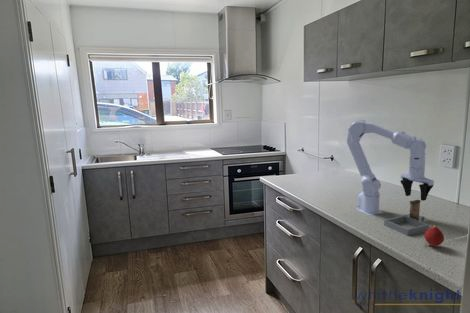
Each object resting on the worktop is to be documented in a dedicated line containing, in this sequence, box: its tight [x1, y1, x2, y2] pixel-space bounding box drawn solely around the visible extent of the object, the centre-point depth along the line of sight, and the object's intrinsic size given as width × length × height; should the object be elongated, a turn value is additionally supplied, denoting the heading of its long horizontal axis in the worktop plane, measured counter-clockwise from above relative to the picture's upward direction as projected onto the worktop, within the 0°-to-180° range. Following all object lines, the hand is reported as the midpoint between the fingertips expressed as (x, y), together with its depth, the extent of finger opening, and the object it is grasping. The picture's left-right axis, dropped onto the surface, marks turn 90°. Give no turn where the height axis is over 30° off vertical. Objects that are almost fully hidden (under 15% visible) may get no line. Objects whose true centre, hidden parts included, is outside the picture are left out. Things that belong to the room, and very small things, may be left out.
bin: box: [383, 215, 430, 237], centre depth 125 cm, size 11×11×3 cm
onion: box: [424, 225, 445, 248], centre depth 110 cm, size 6×6×8 cm
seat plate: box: [397, 213, 431, 223], centre depth 135 cm, size 9×9×2 cm
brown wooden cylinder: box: [409, 199, 422, 220], centre depth 134 cm, size 4×5×8 cm
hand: (415, 197), depth 133 cm, fingers open, 7 cm apart
